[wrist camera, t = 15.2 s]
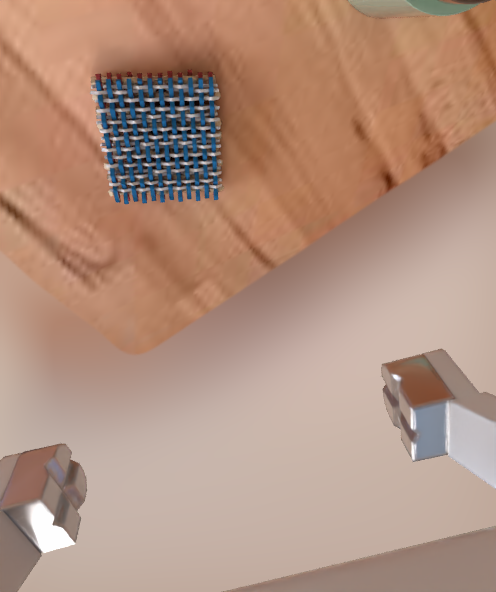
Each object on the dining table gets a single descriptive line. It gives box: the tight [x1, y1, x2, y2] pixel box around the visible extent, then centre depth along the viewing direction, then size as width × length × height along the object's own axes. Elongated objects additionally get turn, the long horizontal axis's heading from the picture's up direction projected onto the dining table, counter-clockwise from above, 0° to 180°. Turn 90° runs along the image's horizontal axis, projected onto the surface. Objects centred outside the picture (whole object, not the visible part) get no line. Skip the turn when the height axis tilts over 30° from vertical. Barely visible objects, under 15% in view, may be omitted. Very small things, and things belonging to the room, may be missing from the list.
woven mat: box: [90, 70, 224, 204], centre depth 38 cm, size 10×11×2 cm
